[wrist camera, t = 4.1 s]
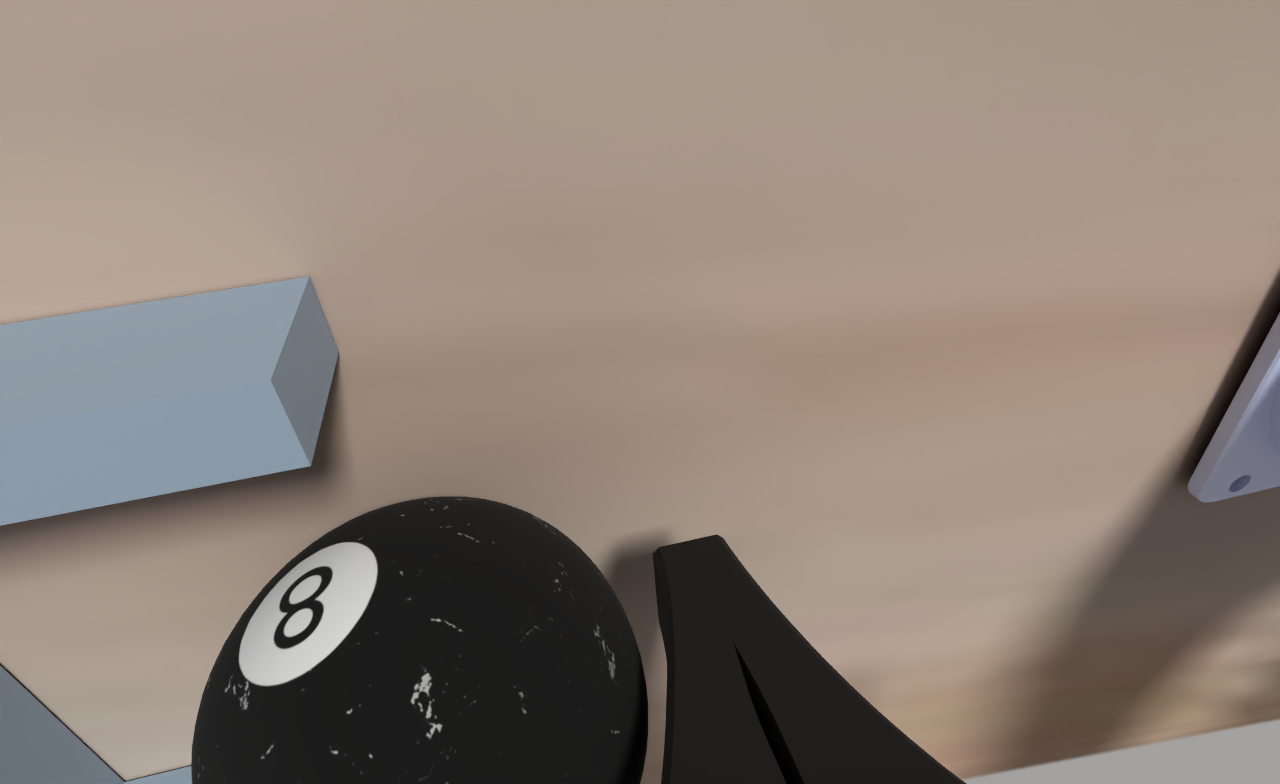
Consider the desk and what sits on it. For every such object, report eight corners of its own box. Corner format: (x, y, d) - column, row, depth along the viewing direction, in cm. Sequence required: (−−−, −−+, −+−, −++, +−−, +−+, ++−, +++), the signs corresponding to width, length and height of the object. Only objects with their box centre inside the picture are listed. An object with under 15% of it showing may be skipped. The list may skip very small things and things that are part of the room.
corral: (309, 276, 9) (271, 380, 7) (484, 726, 16) (489, 844, 14) (-429, 392, 8) (-715, 552, 6) (92, 823, 15) (37, 967, 13)
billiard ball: (397, 695, 15) (371, 1083, 10) (170, 530, 11) (-46, 1014, 6) (654, 575, 14) (756, 918, 9) (504, 361, 11) (547, 742, 6)
